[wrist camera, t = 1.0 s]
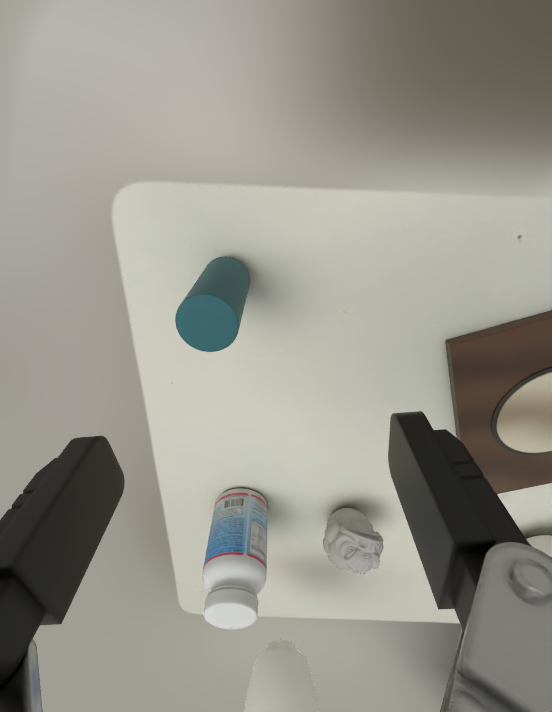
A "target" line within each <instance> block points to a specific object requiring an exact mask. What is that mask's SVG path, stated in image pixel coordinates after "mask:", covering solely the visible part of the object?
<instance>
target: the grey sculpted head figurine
mask: <svg viewBox="0 0 552 712" xmlns="http://www.w3.org/2000/svg"><path fill="white" fill-rule="evenodd" d="M323 546H324V550H325V552H326V553H327V555H328V558H329V560H330V561H331V562H332V563H333V564H334V565H335V566H337V567H338V568H341V569H345V570H350V571H352V572H354V573H356V572H357V573H360V574H362V573H363V574H365V573H366V572H367V571H368V570H370V569H371V568H374V569H376V568H378V567H379V562H380V560H379V558H380V555H381V553H382V550H383V538H382V536H381V535H380V534H379V533H378V532H375V531H374V530H373V527H372V525H371V523H370V522H369V521H368V520H367V518H366V517H365V516H364V515H363V514H362V513H361V512H359V511H357V510H355V509H352V508H342V509H339V510H337V511H336V512H334V513H333V514H332V515H331V516H330V518H329V520H328V522H327V526H326V530H325V538H324V539H323Z"/></svg>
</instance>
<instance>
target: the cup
mask: <svg viewBox="0 0 552 712" xmlns="http://www.w3.org/2000/svg"><path fill="white" fill-rule="evenodd" d="M244 712H320V710H319V705H318V699H317V694H316V689H315V685H314V681H313V678H312V674H311V671H310V667H309V664H308V661H307V657H306V656H305V655H303V654H301V653H300V652H299V651H298V649H297V648H296V646H295V645H294V644H293V643H292V642H289V641H286V640H283V639H281V640H277V641H273V642H271V643H270V644H269V645H268V647H267V648H266V650H265V651H264V652H263V653H261V654H260V655H258V656H257V658H256V660H255V664H254V667H253V671H252V674H251V678H250V681H249V685H248V690H247V696H246V702H245V707H244Z"/></svg>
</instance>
